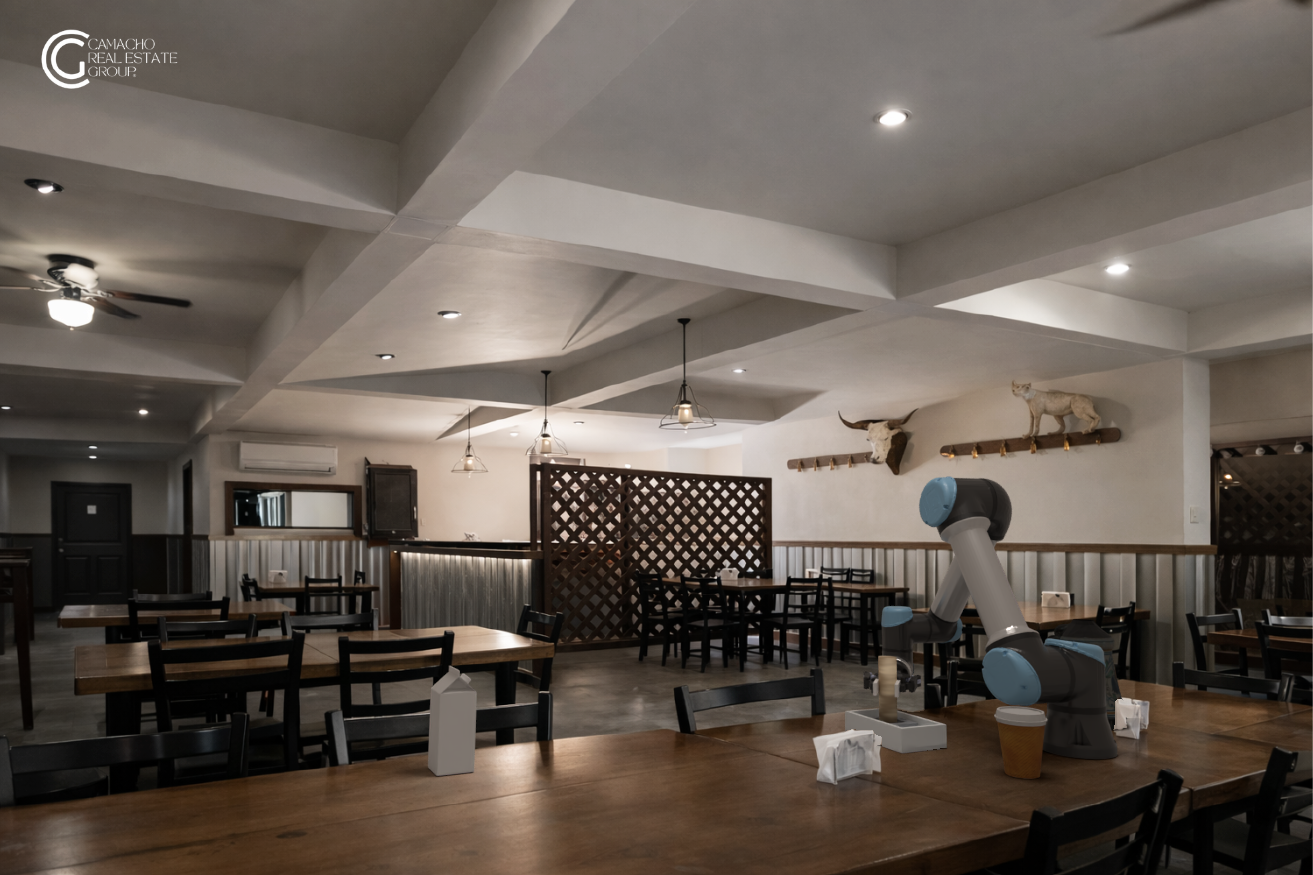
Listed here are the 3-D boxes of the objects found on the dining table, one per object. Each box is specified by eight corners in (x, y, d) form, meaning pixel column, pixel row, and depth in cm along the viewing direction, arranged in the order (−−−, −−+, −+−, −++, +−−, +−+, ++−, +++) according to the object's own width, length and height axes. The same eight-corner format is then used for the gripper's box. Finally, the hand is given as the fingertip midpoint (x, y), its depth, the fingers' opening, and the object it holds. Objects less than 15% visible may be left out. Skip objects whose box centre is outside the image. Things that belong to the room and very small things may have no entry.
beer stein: (1126, 733, 211) (1122, 625, 213) (1037, 724, 221) (1033, 620, 223) (1130, 721, 225) (1126, 619, 228) (1046, 712, 235) (1043, 615, 237)
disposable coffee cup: (1057, 781, 169) (1055, 715, 170) (1006, 780, 169) (1004, 714, 170) (1037, 768, 178) (1035, 706, 180) (988, 767, 179) (987, 705, 180)
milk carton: (436, 777, 167) (440, 671, 169) (427, 767, 173) (431, 666, 175) (474, 772, 170) (477, 669, 172) (464, 763, 177) (467, 664, 178)
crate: (946, 748, 194) (946, 724, 195) (901, 753, 189) (901, 728, 190) (887, 729, 212) (887, 707, 213) (845, 733, 208) (844, 710, 208)
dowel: (901, 730, 202) (900, 657, 204) (886, 732, 200) (885, 658, 202) (889, 727, 206) (888, 655, 207) (875, 728, 204) (874, 656, 206)
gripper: (931, 692, 218) (926, 710, 196) (859, 687, 223) (846, 704, 201) (930, 661, 218) (925, 675, 196) (858, 656, 224) (846, 670, 202)
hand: (885, 690), depth 199 cm, fingers closed on dowel, 4 cm apart
